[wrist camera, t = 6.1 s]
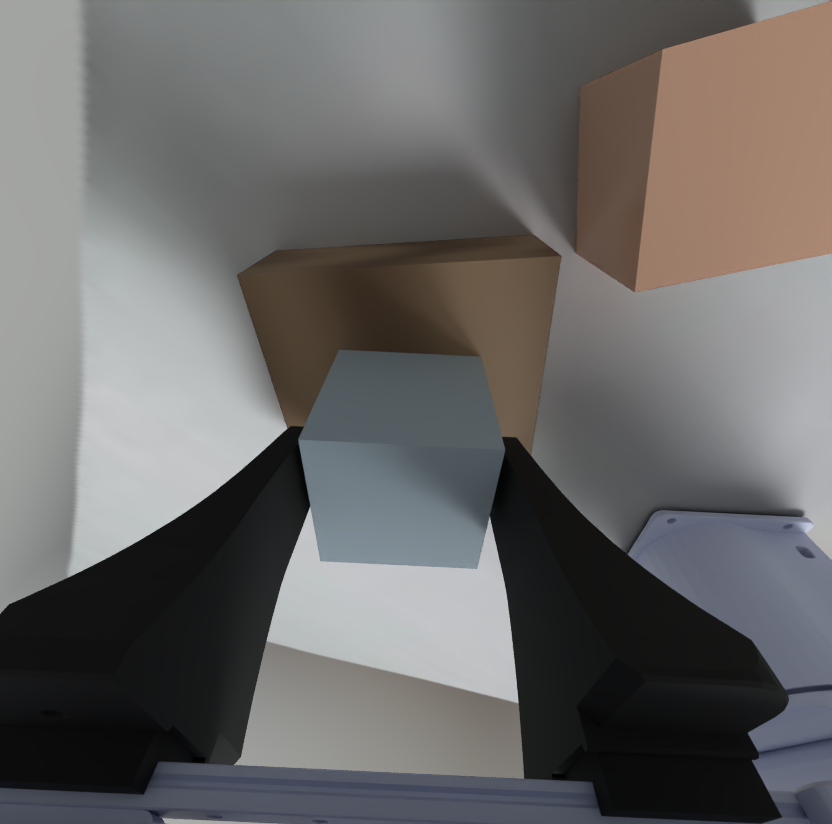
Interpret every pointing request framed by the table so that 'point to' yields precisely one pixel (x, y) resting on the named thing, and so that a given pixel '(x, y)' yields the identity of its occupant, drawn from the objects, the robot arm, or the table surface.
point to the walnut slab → (408, 314)
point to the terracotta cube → (710, 155)
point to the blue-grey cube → (402, 459)
